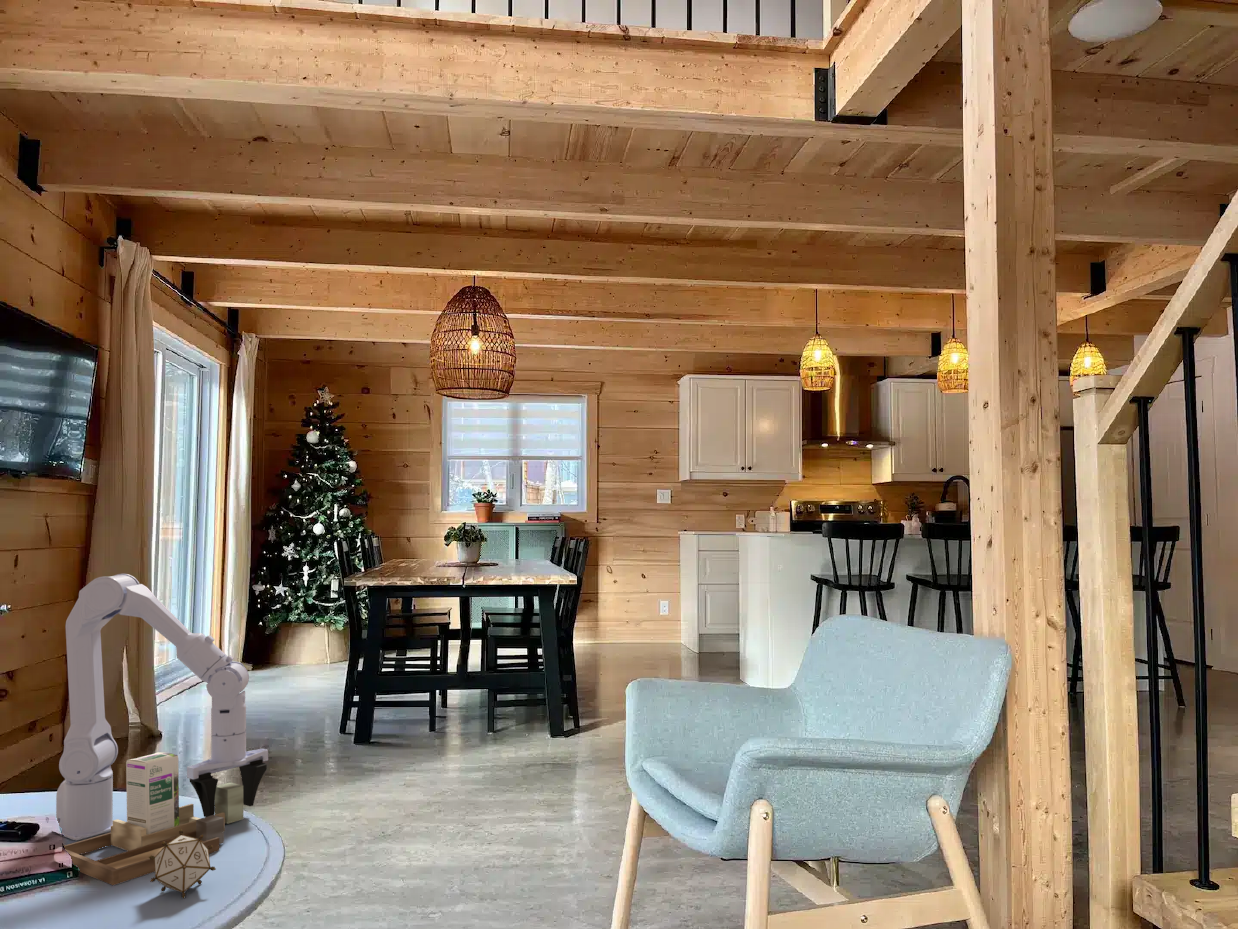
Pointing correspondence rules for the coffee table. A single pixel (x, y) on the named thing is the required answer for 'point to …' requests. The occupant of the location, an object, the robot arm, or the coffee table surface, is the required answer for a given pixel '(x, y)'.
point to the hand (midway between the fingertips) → (229, 811)
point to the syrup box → (153, 791)
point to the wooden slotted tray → (180, 820)
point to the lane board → (119, 858)
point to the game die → (181, 863)
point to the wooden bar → (205, 827)
